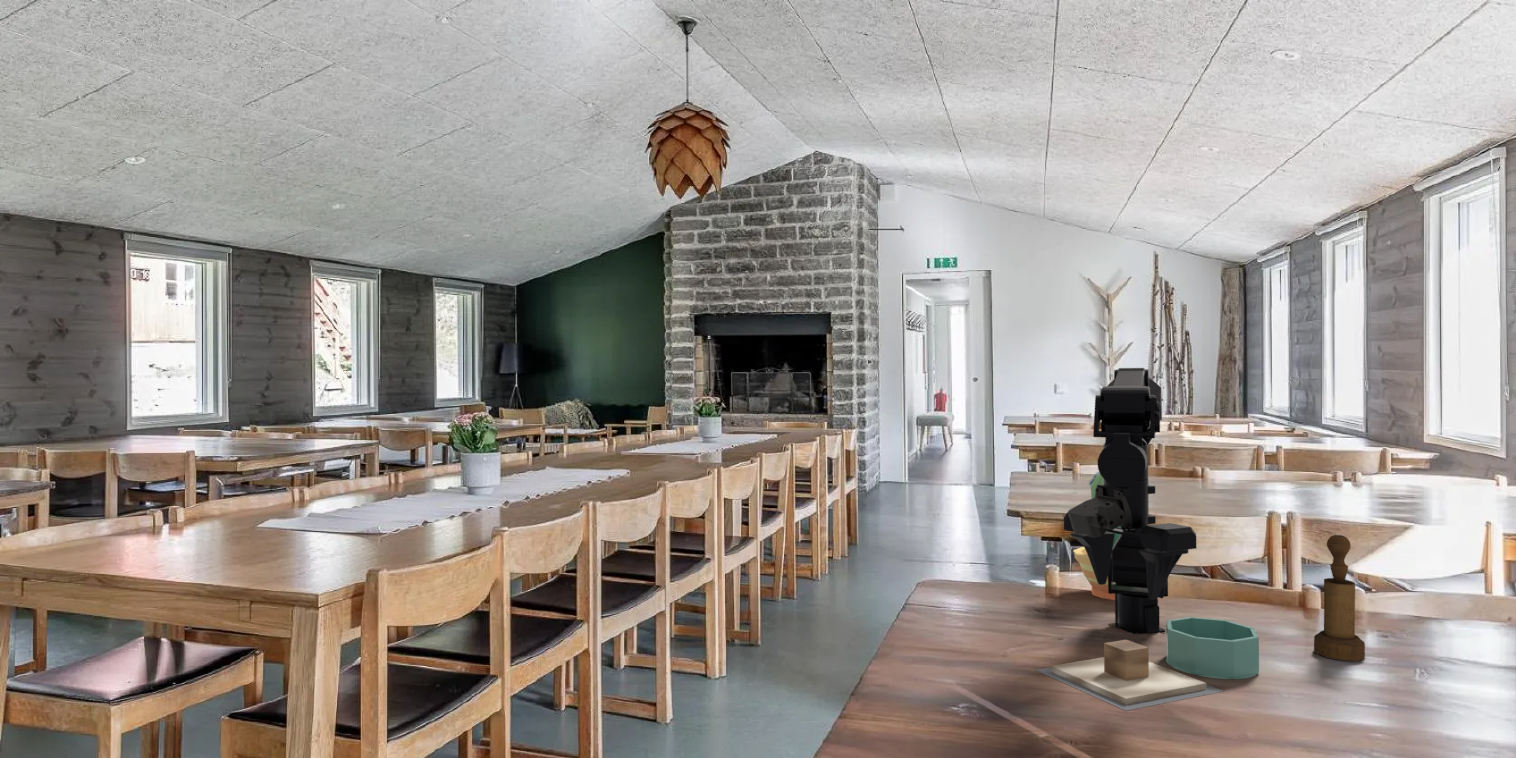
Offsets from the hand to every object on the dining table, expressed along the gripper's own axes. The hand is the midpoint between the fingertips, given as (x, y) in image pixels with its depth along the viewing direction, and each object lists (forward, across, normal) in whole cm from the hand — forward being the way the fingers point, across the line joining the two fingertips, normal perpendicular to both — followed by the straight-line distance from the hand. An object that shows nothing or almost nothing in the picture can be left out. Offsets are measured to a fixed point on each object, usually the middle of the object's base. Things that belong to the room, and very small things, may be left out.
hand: (1126, 591), depth 124 cm
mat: (+13, 0, 0) cm, 13 cm away
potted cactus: (+13, -39, +36) cm, 55 cm away
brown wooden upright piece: (+13, +3, +39) cm, 41 cm away
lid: (+12, 0, 0) cm, 12 cm away
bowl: (+13, 0, +16) cm, 21 cm away
